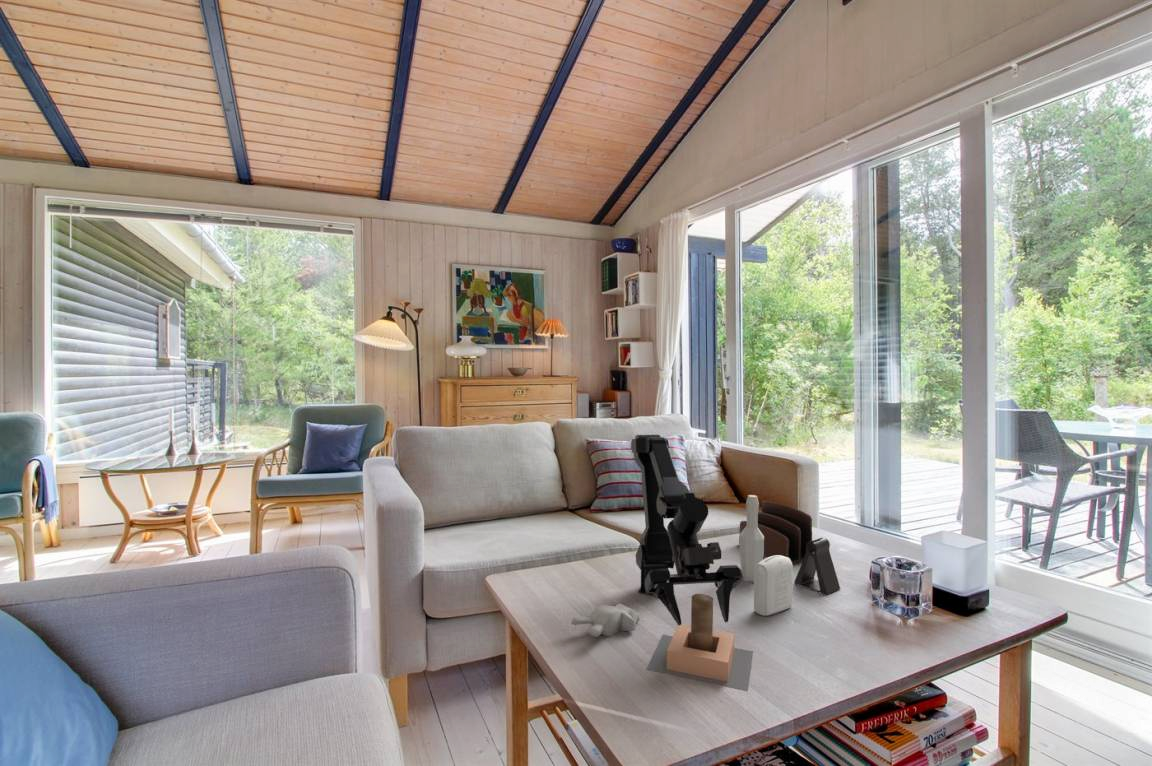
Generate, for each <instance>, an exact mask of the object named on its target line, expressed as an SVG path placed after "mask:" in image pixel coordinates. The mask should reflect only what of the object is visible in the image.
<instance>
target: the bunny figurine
mask: <svg viewBox="0 0 1152 766" xmlns="http://www.w3.org/2000/svg"><path fill="white" fill-rule="evenodd" d="M640 615H641V614H640V613H639V612H638V611H636V610H634V609H632V608H630V607H629V606H626V605H625V604H621V603H617V604H616V606H613V605H607V604H601V605H597V606H595V607H593V611H592V613H591V616H590V617H589V616H573V618H572V620H571V625H575V626H577V625H588V624H590V625H591V626H588V632H589V634H590V635H591V637H600V636H601V634H602V635H604V636H605V637H612V636H614V635H617V634H618V633H619V632H620V631H621V632H625V631H626V632H634V631H635V630H636V624H637V622H639V621H640Z"/></svg>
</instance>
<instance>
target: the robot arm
mask: <svg viewBox="0 0 1152 766" xmlns="http://www.w3.org/2000/svg"><path fill="white" fill-rule="evenodd" d="M669 443H670V442H669V439H668V438H667V437H664V436H661V435H660V434H636V435H635V438H632V439H631V442H630V450H631V452H632V453H633V459H634V462H635V463H636V465H637V466H638V467H639V469H640V471H641V482H642V496H643V509H644V523H645V528H644V530H643V532H642V534H641V536H640V541H639V542H640V543H639V544H640V545H638V547H637V550H636V553H635V563H636V565H637V567H638V569H639V570H640V588H639V589H638V593H639V594H643V595H649V596H653V597H654V598H657V599H659V601H660V602H661V603H662V604H663V605H664V606H665V608H666V609H667V611H668V612H669V613H670V615H671V617H672V618H673V619H674V621H675V623H676V624H677V626H678V625H682V618H681V613H680V609H679V606H678V603H677V598H676V595H675V590H674V589H675V588H674V585H695V584H696V585H699V584H713V583H714V586H715V587H716V588H717V589H716V591H715V594H716V598H717V601H718V605H719V610H720V613H721V616H722V618H723V619H722V620H723V621H724V623H728V622H729V617H730V615H729V614H730V603H731V601H730V600H731V593H732V591H733V590H734V589H736V588H737V586H738V585H739V584H740V583H741V581H743V580H744V579H743V574H742V571H741V567H739V566H738V565H737V564H730V565H728V564H727V565H719V567H718V569H717V570H716V571H715V572H714V571H713V572H712V571H711V572H707V570H708V571H709V570H710V568H711V566H710V565H715V560H716V561H717V560H721V559H722V556H723V555H722V550H721V547H720V543H719V542H717V541H716V542H715V541H714V542H708V543H707V544H706V546H703V545H702V543H699V539H698V535H697V534H698V533H699V532H700V531H701V529H702V527H703V525H704V523H705V521H706V519H707V518H708V516H709V508H708V505H707V504H706V503H705V502H704V501H703V500H702V499H701V498H698V497H696V495H695V494H696V493H695V492H690V490H689V487H688V485H686V484H684V483H683V482H682V481H681V480H680V479H679V477H678V474H677V471H676V467H675V464H674V461H673V458H672V456H671V453H670V449H669V448H670V446H669ZM664 519H671V520H670V521H669V523H668V525H666V526H667V527H665V522H664ZM674 566H675V570H676V573H675V574H674V573H673V574H671V572H670V570H669V569H674Z"/></svg>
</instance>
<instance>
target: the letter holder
mask: <svg viewBox="0 0 1152 766" xmlns="http://www.w3.org/2000/svg"><path fill="white" fill-rule="evenodd" d="M746 526H747V520H741V521H740V522H739V537H738V543H739V544H738V545H739V546H740V533H741V532H742V531H743V530H744V528H745V527H746ZM758 528H759V530H760V531H761V533H762V534H763V536H764V555H763V557H764V556H765V558H768V557H770V556H775V555H781V556H785V557H788V558H789V559H790V560H791V562H792V565H798V564H802V561H803V559H804V556H805V554H806V544H807V543H808V542H810V541H813V518H812V516H811V515H810V514H808V513H806V512H805V511H803V510H800V509H798V508H795V507H792V506H790V505H787V504H783V503H779V502H776V501H770V500H769V501H768V500H763V501H762V502H761V511H758Z"/></svg>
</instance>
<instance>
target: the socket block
mask: <svg viewBox="0 0 1152 766" xmlns="http://www.w3.org/2000/svg"><path fill="white" fill-rule="evenodd" d="M672 636H673V638H672V640H671V642H670V645H669V647H668V649H667V669H669V670H674V671H678V672H683V673H688V674H693V675H698V676H702V677H707V678H712V679H717V680H722V681H726V682H728V679H729V674H730V669H731V664H732V659H733V654H734V648H735V633H731V632H730V633H729V632H724V631H717V630H713V639H712V652H708V651H703V650H698V649H692V648H691V625H686V624H685V625H684V624H681V625H678V624H677V627H676V629H675V630H674V634H673V635H672Z"/></svg>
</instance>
